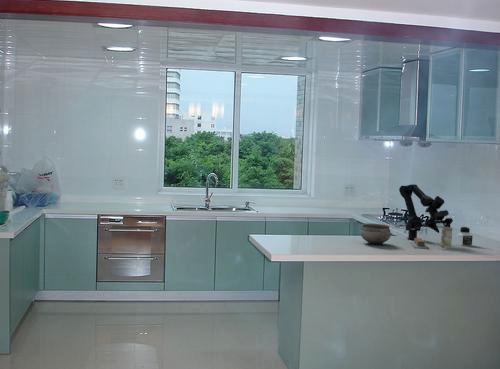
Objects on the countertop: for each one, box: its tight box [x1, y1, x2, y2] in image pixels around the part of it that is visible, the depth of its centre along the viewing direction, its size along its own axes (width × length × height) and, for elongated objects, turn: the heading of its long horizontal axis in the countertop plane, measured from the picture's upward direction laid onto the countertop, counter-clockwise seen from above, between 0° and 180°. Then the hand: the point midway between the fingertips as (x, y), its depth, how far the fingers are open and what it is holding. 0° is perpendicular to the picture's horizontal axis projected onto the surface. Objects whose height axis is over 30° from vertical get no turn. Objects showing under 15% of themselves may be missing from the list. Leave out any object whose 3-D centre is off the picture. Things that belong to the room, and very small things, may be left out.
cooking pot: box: [359, 222, 393, 246], centre depth 386 cm, size 25×19×12 cm
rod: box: [440, 226, 453, 249], centre depth 384 cm, size 4×4×13 cm
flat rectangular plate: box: [409, 237, 430, 250], centre depth 385 cm, size 20×9×4 cm, turn 173°
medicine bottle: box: [456, 226, 474, 247], centre depth 399 cm, size 7×7×12 cm
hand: (444, 232), depth 386 cm, fingers open, 9 cm apart
